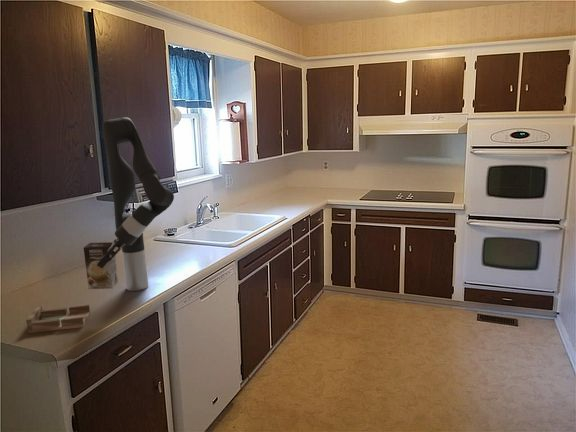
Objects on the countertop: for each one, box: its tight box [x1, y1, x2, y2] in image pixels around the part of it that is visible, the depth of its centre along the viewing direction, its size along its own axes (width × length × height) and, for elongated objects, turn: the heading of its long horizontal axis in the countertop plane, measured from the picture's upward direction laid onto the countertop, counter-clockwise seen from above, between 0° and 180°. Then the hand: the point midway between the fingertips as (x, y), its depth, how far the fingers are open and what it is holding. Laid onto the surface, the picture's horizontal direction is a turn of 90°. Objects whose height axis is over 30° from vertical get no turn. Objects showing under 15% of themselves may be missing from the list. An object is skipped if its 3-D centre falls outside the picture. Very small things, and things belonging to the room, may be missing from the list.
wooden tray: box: [25, 304, 91, 334], centre depth 162 cm, size 12×18×5 cm, turn 102°
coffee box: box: [83, 241, 119, 290], centre depth 162 cm, size 9×6×16 cm
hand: (101, 263), depth 161 cm, fingers closed on coffee box, 7 cm apart
